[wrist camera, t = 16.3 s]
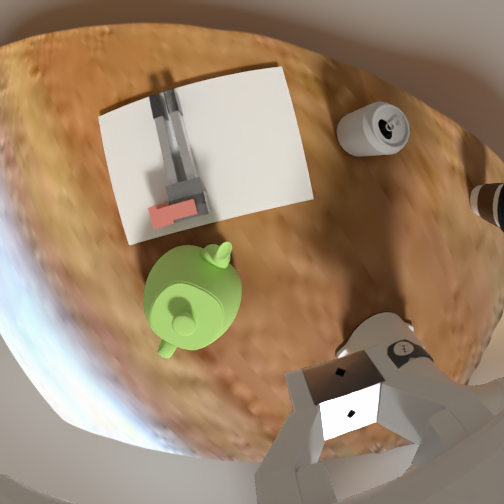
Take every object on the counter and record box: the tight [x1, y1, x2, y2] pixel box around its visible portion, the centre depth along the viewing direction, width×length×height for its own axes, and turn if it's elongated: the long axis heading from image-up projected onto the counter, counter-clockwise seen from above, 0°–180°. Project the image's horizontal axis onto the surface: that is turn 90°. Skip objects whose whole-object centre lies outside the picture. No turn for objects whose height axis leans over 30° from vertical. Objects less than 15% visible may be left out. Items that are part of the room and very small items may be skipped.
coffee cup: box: [470, 183, 504, 232], centre depth 40 cm, size 11×11×12 cm
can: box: [337, 101, 410, 157], centre depth 35 cm, size 8×8×12 cm
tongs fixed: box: [149, 93, 211, 223], centre depth 36 cm, size 18×5×5 cm, turn 13°
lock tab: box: [148, 199, 198, 229], centre depth 38 cm, size 3×6×6 cm, turn 103°
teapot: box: [143, 241, 242, 358], centre depth 39 cm, size 22×15×13 cm
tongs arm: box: [163, 88, 199, 180], centre depth 36 cm, size 14×2×4 cm, turn 15°
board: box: [99, 67, 314, 245], centre depth 39 cm, size 22×30×2 cm
